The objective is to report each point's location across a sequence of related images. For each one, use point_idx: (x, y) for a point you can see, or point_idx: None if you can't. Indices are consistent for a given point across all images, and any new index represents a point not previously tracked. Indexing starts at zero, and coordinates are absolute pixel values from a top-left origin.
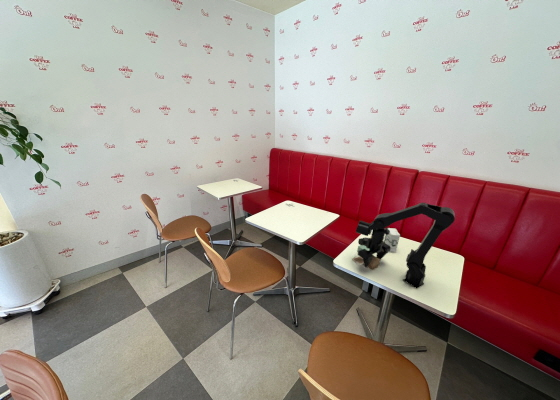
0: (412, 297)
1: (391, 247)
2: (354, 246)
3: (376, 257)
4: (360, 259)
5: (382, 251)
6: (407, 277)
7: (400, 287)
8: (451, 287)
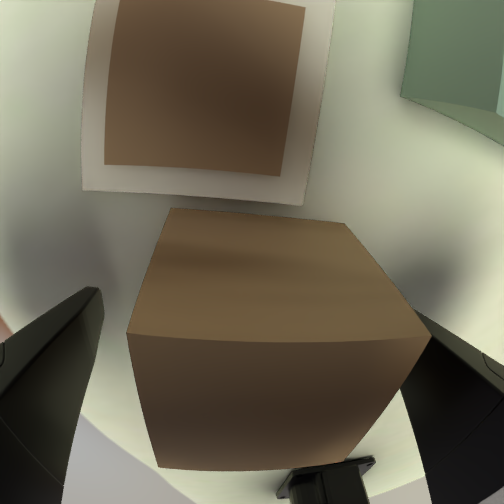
0: (195, 499)
1: None
2: None
3: (363, 428)
4: (226, 80)
5: (481, 502)
6: (315, 489)
7: (207, 479)
8: (394, 486)
